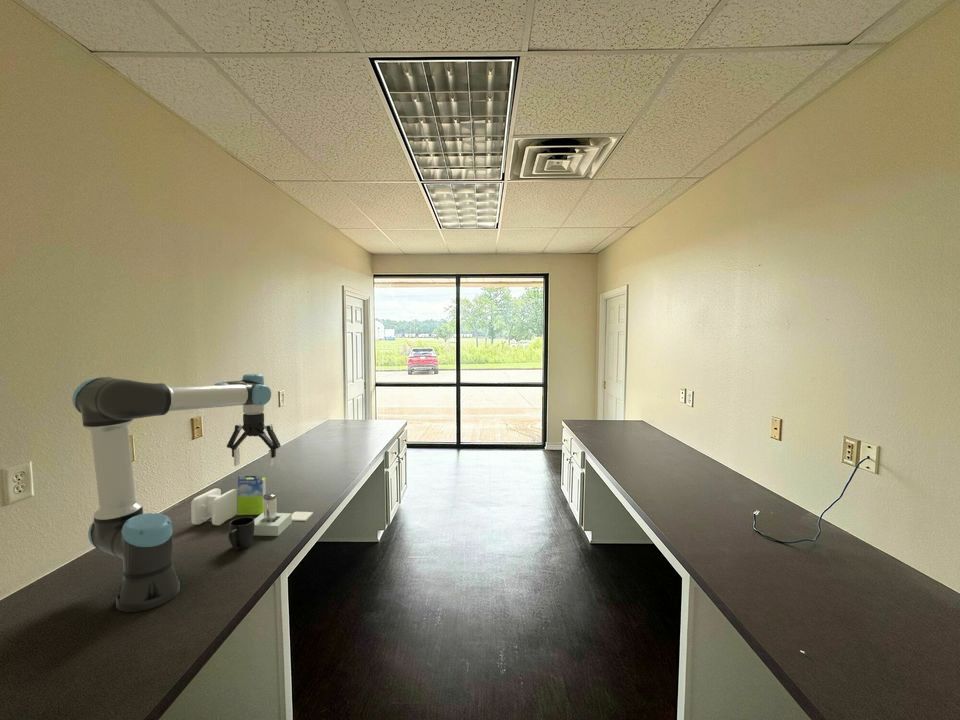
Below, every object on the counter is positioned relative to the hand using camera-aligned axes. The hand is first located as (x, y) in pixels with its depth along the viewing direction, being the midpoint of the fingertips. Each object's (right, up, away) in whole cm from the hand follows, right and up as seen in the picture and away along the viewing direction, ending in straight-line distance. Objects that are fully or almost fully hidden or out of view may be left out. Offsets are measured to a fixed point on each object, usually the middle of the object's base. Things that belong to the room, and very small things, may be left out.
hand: (254, 465), depth 177 cm
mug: (+3, -27, -16) cm, 31 cm away
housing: (+6, -26, +1) cm, 26 cm away
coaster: (+13, -25, +13) cm, 31 cm away
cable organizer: (-20, -25, +7) cm, 32 cm away
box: (-9, -25, +15) cm, 30 cm away
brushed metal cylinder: (+6, -26, +1) cm, 26 cm away
